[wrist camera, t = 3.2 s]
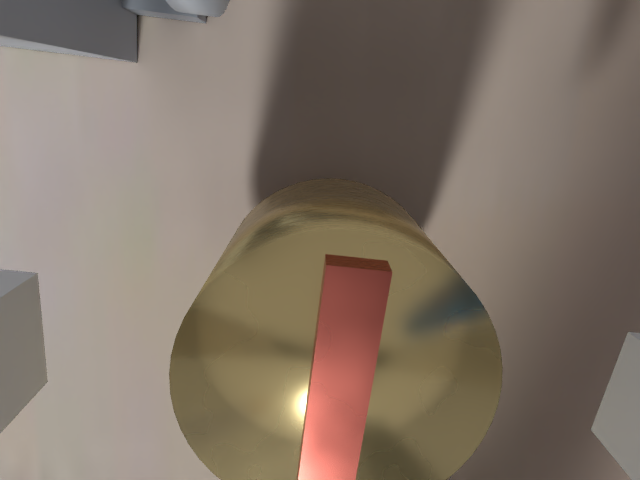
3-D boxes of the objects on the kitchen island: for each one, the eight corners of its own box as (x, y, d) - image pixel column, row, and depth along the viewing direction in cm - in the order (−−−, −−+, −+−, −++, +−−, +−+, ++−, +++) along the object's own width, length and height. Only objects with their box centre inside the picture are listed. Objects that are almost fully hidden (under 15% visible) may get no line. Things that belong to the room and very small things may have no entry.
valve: (243, 156, 16) (162, 220, 8) (430, 178, 17) (557, 262, 8) (231, 326, 18) (157, 529, 10) (398, 343, 19) (471, 553, 10)
